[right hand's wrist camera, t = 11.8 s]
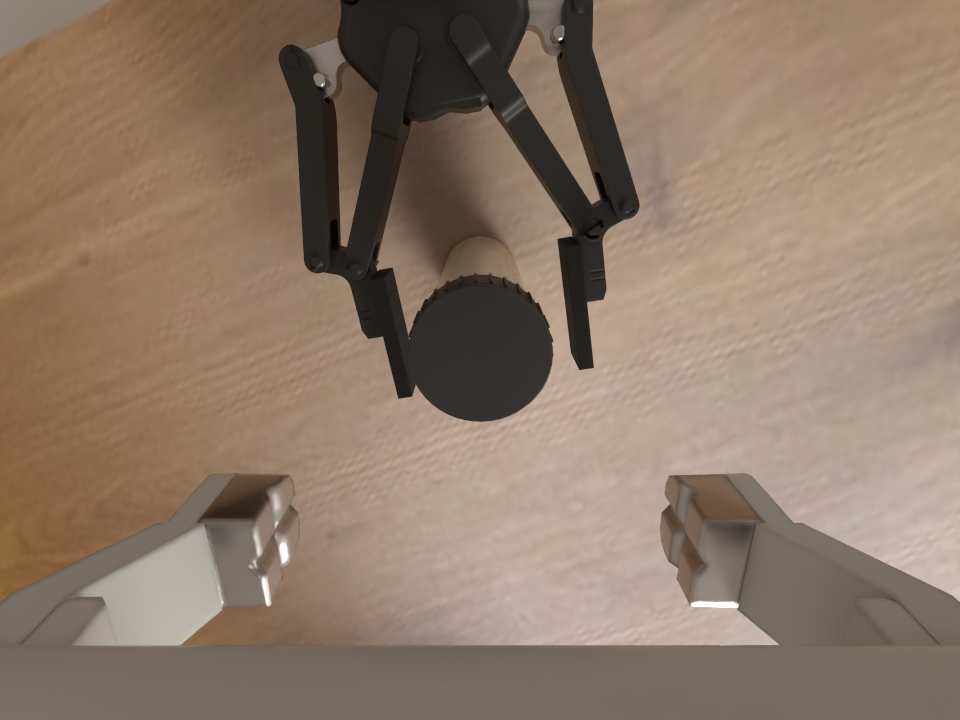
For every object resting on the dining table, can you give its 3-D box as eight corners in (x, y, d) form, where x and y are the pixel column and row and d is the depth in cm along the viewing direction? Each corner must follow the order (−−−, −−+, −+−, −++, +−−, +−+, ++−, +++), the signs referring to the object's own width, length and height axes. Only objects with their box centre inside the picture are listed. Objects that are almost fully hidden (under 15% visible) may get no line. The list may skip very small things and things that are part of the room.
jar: (453, 228, 32) (432, 277, 18) (524, 246, 33) (559, 308, 18) (437, 297, 34) (406, 394, 19) (505, 314, 34) (524, 421, 20)
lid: (428, 256, 19) (422, 266, 17) (565, 291, 20) (574, 304, 18) (400, 384, 21) (392, 406, 19) (527, 413, 21) (531, 437, 20)
